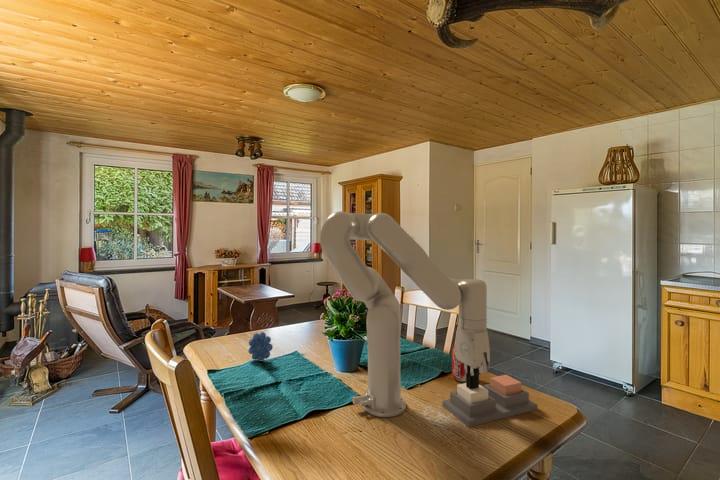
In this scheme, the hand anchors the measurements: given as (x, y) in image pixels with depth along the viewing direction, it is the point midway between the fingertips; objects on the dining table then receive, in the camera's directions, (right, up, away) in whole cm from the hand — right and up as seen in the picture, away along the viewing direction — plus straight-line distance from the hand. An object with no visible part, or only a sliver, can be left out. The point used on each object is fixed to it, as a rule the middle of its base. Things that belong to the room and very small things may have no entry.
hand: (472, 387), depth 100 cm
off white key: (0, -3, 0) cm, 3 cm away
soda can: (+4, -7, +22) cm, 23 cm away
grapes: (-71, -7, +41) cm, 82 cm away
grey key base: (+6, -7, +2) cm, 9 cm away
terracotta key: (+11, -3, +4) cm, 12 cm away
